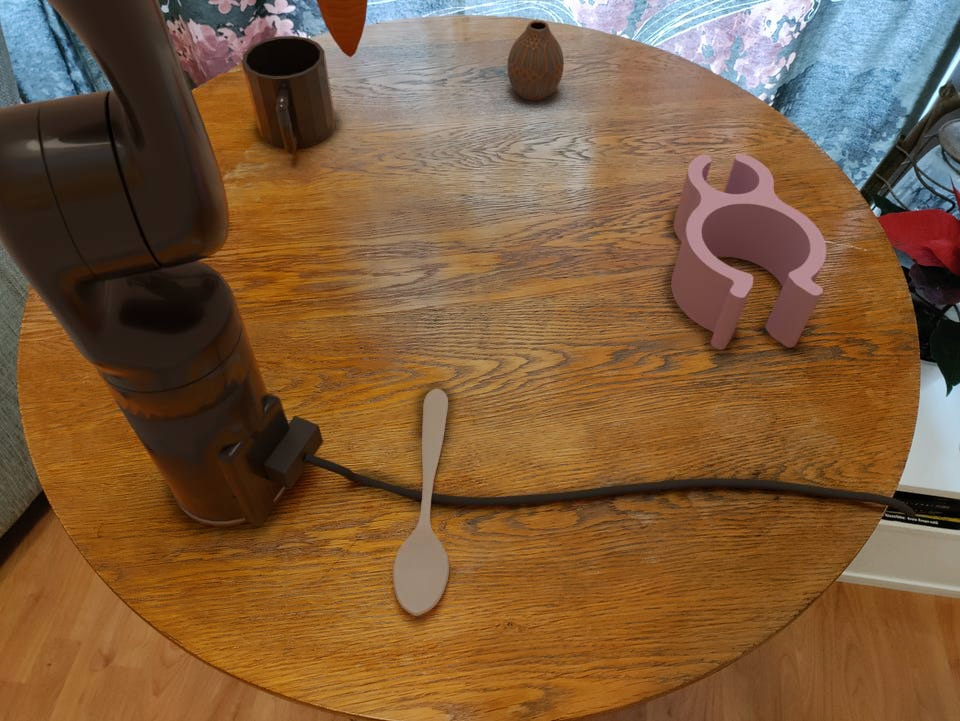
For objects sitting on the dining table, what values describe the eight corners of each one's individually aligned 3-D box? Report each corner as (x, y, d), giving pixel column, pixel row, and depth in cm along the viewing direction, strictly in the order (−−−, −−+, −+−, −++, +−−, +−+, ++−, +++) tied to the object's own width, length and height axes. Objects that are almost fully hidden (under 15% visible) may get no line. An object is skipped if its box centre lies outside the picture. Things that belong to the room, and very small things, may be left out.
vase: (570, 87, 98) (577, 20, 91) (544, 113, 94) (549, 45, 87) (523, 71, 100) (527, 5, 93) (496, 96, 96) (498, 29, 89)
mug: (263, 107, 94) (246, 37, 88) (336, 103, 95) (325, 34, 88) (253, 169, 87) (234, 98, 80) (333, 165, 87) (321, 94, 80)
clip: (648, 208, 83) (660, 155, 77) (762, 205, 83) (782, 152, 78) (688, 350, 70) (706, 298, 65) (822, 346, 71) (850, 294, 65)
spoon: (388, 621, 54) (386, 613, 53) (413, 389, 67) (412, 377, 66) (446, 623, 54) (445, 615, 53) (460, 390, 67) (460, 379, 66)
